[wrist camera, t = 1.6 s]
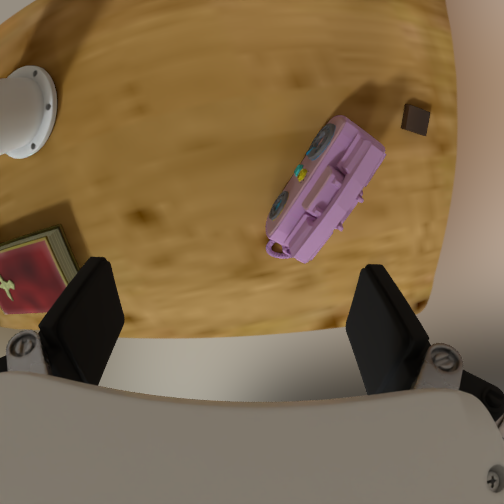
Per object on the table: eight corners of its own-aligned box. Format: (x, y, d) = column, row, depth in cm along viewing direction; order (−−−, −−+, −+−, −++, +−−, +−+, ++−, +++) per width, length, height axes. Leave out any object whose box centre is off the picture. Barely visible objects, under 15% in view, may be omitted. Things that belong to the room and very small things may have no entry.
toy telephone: (327, 110, 27) (361, 114, 18) (373, 143, 29) (418, 162, 20) (244, 240, 35) (242, 291, 26) (289, 263, 36) (300, 317, 27)
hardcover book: (92, 295, 39) (81, 313, 35) (15, 303, 40) (4, 317, 37) (60, 224, 33) (44, 238, 29) (-13, 248, 35) (-26, 260, 31)
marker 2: (400, 128, 28) (405, 129, 27) (404, 103, 26) (409, 104, 25) (421, 134, 28) (426, 136, 27) (425, 111, 26) (430, 112, 25)
